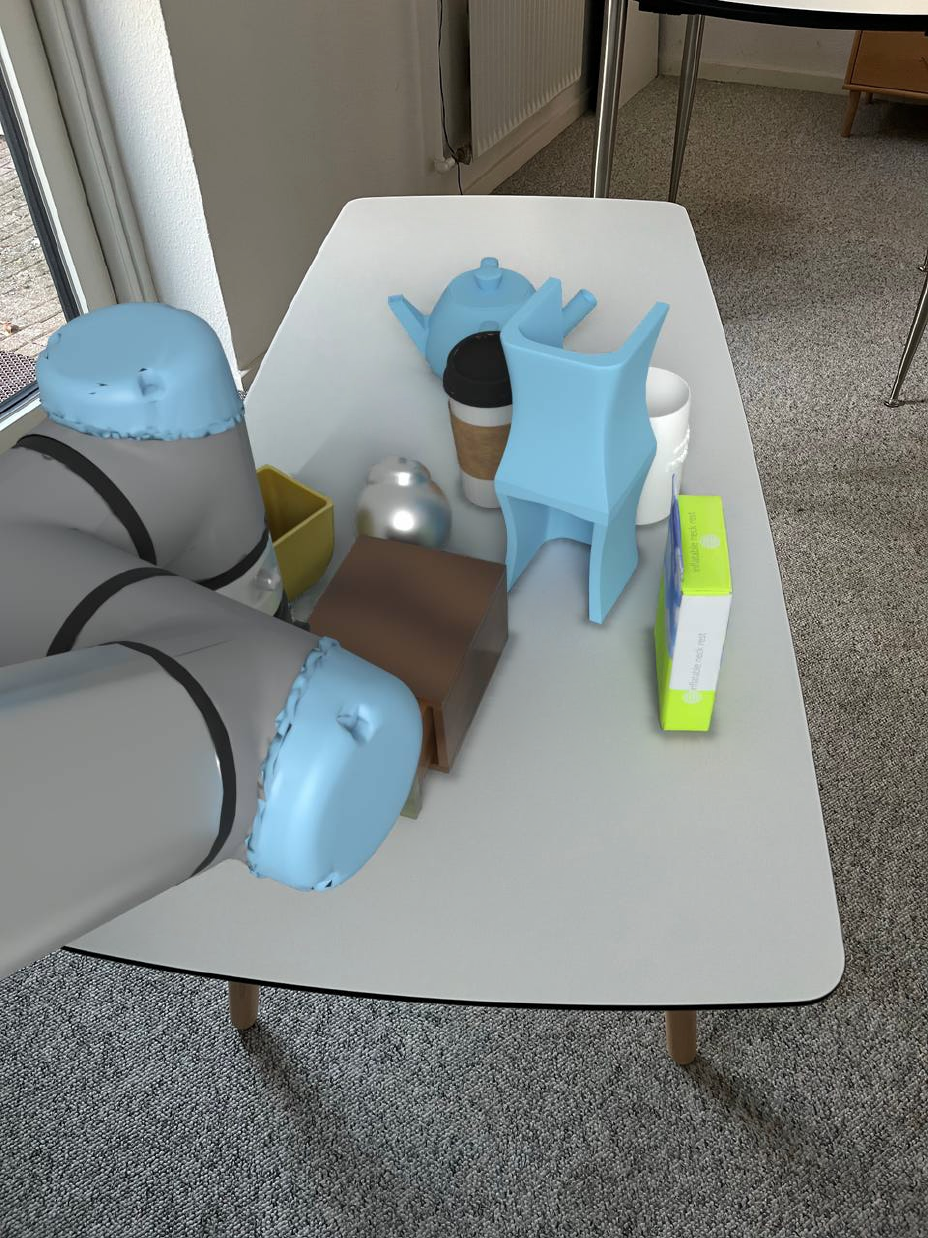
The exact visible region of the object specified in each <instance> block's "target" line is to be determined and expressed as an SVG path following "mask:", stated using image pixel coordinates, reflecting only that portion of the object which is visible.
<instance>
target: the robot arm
mask: <svg viewBox="0 0 928 1238" xmlns="http://www.w3.org/2000/svg"><path fill="white" fill-rule="evenodd" d="M34 370H35V379H36V383H37V386H38V390H39V395H38V399H39V400H38V402H40V403H41V404H40V406H41V407H42V408H43V413H46V416H45V418H44V419H42V420H41V421H39V423H38V424H37V425H35V426H33V428H31V429H30V430H28V431H26V432H25V433H24V434H23V435H22V436H20V437H18V438H17V440H16V443H15V444H14V445H13V446H11V447H10V448H8V449H7V450H5V451H4V452H2V453H1V454H0V981H3V980H5V978H7V977H9V976H11V975H13V974H15V973H16V972H19V971H21V970H22V969H24V968H26V967H27V966H30V965H31V964H33V963H35V962H36V961H39V960H40V959H42V958H45V957H46V956H48V955H50V954H52V953H54V952H55V951H57V950H59V949H61V948H63V947H65V946H67V945H68V944H70V943H72V942H74V941H76V940H77V939H79V938H81V937H83V936H85V935H87V934H89V933H91V932H93V931H94V930H96V929H97V928H100V927H101V926H103V925H106V924H107V923H108V922H111V921H113V920H115V919H116V918H118V917H120V916H122V915H123V914H125V913H127V912H129V911H131V910H133V909H135V908H136V907H138V906H140V905H143V904H144V903H146V902H148V901H150V900H152V898H155V897H156V896H158V895H160V894H162V893H164V892H166V891H168V890H170V889H171V888H174V887H176V886H179V885H180V884H183V883H185V882H186V881H188V880H190V879H191V878H195V877H197V876H200V875H201V874H204V873H205V872H207V871H209V870H211V869H212V868H214V867H216V866H218V865H219V864H221V863H223V862H225V861H227V860H236V861H239V862H241V863H242V864H244V865H245V866H246V867H248V869H249V874H251V875H253V876H254V877H256V878H257V879H261V880H262V879H268V878H269V879H271V880H273V881H276V882H278V883H280V884H281V885H285V886H287V887H289V888H292V889H293V890H296V891H299V892H313V891H316V892H318V893H322V892H326V891H329V890H332V889H335V888H337V887H338V886H341V885H342V884H344V883H345V882H347V881H349V879H351V878H352V877H354V876H355V875H356V874H357V873H358V872H359V871H361V870H362V869H363V868H364V866H365V865H366V864H367V863H368V861H369V860H370V859H372V857H373V856H374V855H375V854H376V852H377V851H378V850H379V849H380V847H381V846H382V845H383V843H384V842H385V840H386V838H387V837H388V836H389V834H390V832H391V831H392V829H393V828H394V826H395V824H396V822H397V820H398V818H399V817H400V815H399V814H400V812H401V810H402V808H403V806H404V804H405V802H406V800H407V797H408V795H409V792H410V790H411V786H412V783H413V780H414V776H415V773H416V769H417V765H418V761H419V757H420V753H421V746H422V736H423V728H422V717H421V712H420V709H419V705H418V702H417V700H416V698H415V696H414V695H413V693H412V692H411V690H410V689H409V688H408V686H407V685H406V684H405V683H404V682H403V681H401V680H400V679H398V678H397V677H396V676H394V675H392V674H390V673H388V672H386V671H384V670H383V669H381V668H379V667H377V666H375V665H373V664H371V663H369V662H368V661H366V660H364V659H362V658H360V657H358V656H356V655H355V654H353V653H351V652H349V651H347V650H345V649H343V648H341V647H340V644H339V642H338V641H337V640H334V639H332V638H329V637H326V636H324V637H319V636H317V635H315V634H312V633H310V625H309V623H308V622H306V621H303V620H300V619H295V618H293V615H292V612H291V608H290V603H288V599H287V595H286V592H285V590H284V588H283V583H282V578H281V574H280V570H279V566H278V563H277V559H276V555H275V551H274V547H273V543H272V540H271V536H270V532H269V527H268V521H267V515H266V512H265V508H264V503H263V499H262V494H261V490H260V485H259V481H258V476H257V471H256V470H257V467H256V464H255V463H256V462H255V459H254V454H253V449H252V445H251V441H250V435H249V431H248V427H247V422H246V417H245V415H246V407H245V403H244V400H243V399H242V398H241V396H240V393H239V390H238V387H237V385H236V381H235V378H234V375H233V371H232V368H231V365H230V362H229V360H228V357H227V354H226V351H225V350H224V347H223V344H222V341H221V339H220V338H219V335H218V334H217V332H216V330H215V329H214V328H213V327H212V326H211V325H210V324H209V323H208V321H206V319H204V318H202V317H201V316H199V315H197V314H196V313H194V312H192V311H190V310H187V309H182V308H176V307H174V306H173V305H171V304H168V303H162V302H153V301H134V302H133V301H132V302H122V303H117V304H112V305H107V306H104V307H103V306H102V307H101V308H97V309H94V310H91V311H89V312H85V313H83V314H81V315H79V316H77V317H74V318H73V319H71V320H69V321H68V322H66V323H65V324H63V325H61V326H60V327H59V328H58V329H56V331H54V332H53V333H52V334H51V335H50V336H49V337H48V339H47V344H46V346H45V348H44V349H42V350H41V351H40V352H39V354H38V357H37V358H36V361H35V366H34Z"/></svg>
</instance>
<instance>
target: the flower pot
mask: <svg viewBox="0 0 928 1238" xmlns="http://www.w3.org/2000/svg"><path fill="white" fill-rule="evenodd" d="M256 471H257V476H258V481H259V485H260V490H261V494H262V499H263V503H264V508H265V512H266V515H267V521H268V527H269V532H270V536H271V540H272V543H273V547H274V551H275V555H276V559H277V563H278V566H279V570H280V574H281V578H282V583H283V588H284V590H285V592H286V595H287V599H288V603H289V604H290V603H292V602H293V601H294V600H295V599H297V598H298V597H300V595H302V594H303V593H304V592H306V591H307V590H308V589H310V588H311V587H312V586H314V585H315V584H317V583H318V582H319V581H320V580H321V578H322V577H323V576H324V574H325V572H326V571H327V569H328V567H329V565H330V562H331V560H332V557H333V556H334V555H333V554H334V550H335V509H334V507H335V505H334V504H335V503H334V500H333V499H331V498H330V497H328V496H326V495H325V494H323V493H321V492H319V491H317V490H315V489H313V488H312V487H309V486H308V485H306V484H304V483H302V482H300V481H298V480H297V479H295V478H293V477H292V476H290V475H288V474H287V473H286V472H283V471H282V470H280V469H279V468H277V467H275V466H273V465H270V464H268V463H267V464H263V465H262V466H259V467H258V468H256Z"/></svg>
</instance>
